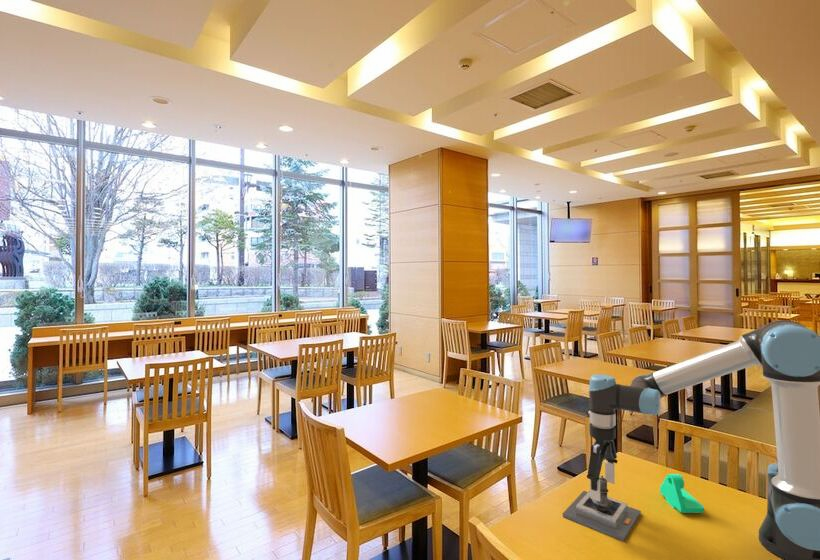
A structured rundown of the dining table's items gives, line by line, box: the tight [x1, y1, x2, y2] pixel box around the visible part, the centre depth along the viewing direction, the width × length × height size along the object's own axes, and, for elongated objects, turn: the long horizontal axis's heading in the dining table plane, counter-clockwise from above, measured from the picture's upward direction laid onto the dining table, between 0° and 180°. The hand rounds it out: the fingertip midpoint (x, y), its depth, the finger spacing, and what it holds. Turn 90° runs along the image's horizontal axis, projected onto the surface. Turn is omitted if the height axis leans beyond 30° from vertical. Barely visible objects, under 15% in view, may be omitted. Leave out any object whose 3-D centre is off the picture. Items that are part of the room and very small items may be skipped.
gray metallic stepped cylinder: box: [592, 475, 612, 516], centre depth 132 cm, size 6×6×12 cm
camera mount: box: [659, 473, 705, 514], centre depth 138 cm, size 12×8×10 cm, turn 178°
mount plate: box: [562, 490, 642, 542], centre depth 132 cm, size 18×18×4 cm
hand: (602, 490), depth 132 cm, fingers open, 13 cm apart
